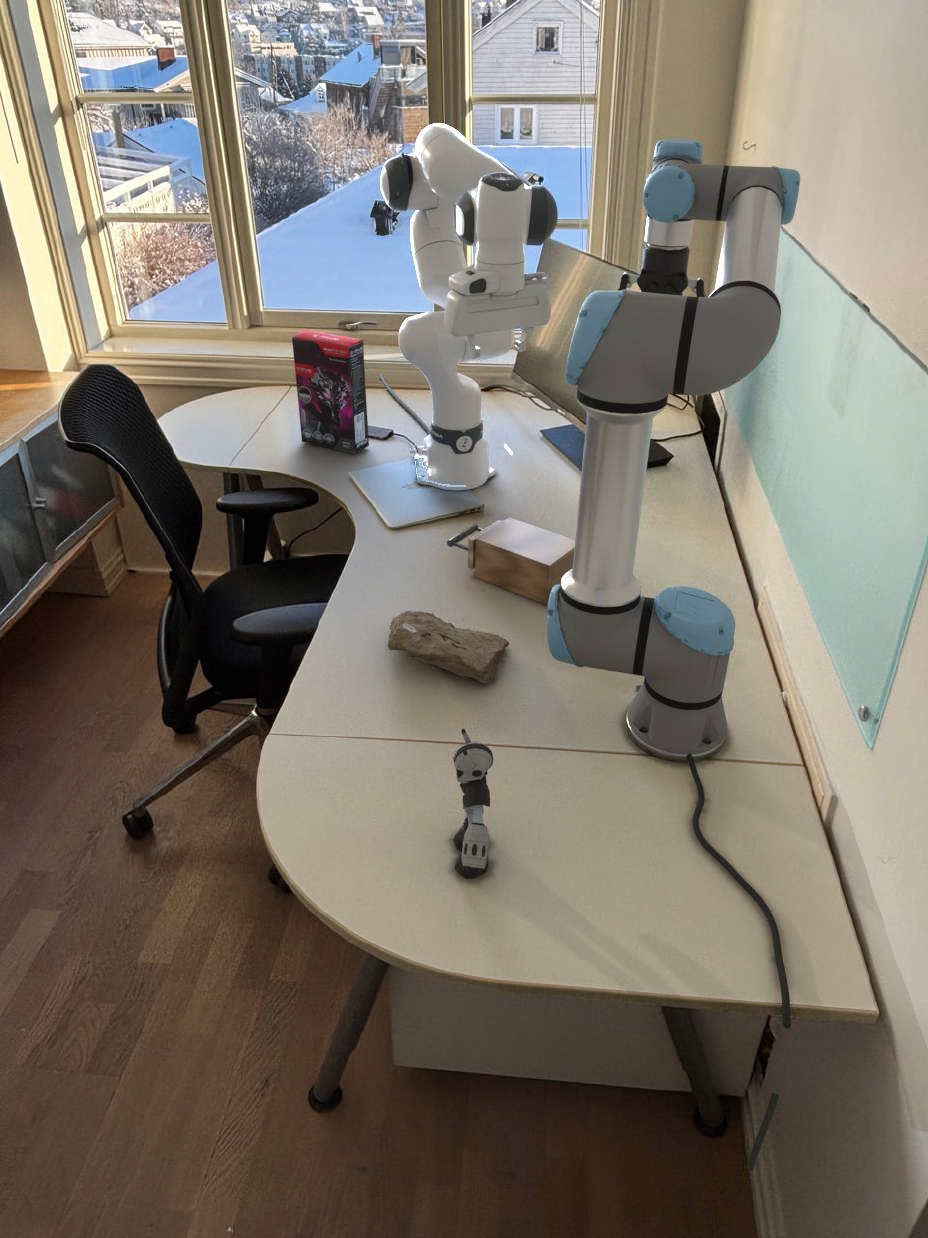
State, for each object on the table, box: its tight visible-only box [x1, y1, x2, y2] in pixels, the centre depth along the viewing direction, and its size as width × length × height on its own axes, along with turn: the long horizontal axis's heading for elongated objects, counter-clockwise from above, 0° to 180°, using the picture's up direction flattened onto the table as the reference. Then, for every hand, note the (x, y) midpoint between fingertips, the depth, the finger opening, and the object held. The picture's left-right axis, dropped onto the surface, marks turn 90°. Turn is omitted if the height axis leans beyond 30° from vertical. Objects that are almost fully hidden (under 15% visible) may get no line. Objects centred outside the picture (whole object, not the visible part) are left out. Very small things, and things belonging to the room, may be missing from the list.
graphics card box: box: [291, 329, 370, 455], centre depth 226 cm, size 17×7×27 cm, turn 62°
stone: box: [387, 610, 510, 685], centre depth 156 cm, size 21×15×6 cm
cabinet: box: [474, 516, 575, 606], centre depth 178 cm, size 17×11×9 cm
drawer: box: [446, 519, 503, 570], centre depth 181 cm, size 21×10×6 cm, turn 53°
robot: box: [452, 728, 494, 879], centre depth 116 cm, size 20×5×20 cm, turn 3°
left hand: (497, 354), depth 170 cm, fingers open, 8 cm apart
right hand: (651, 371), depth 163 cm, fingers open, 13 cm apart
